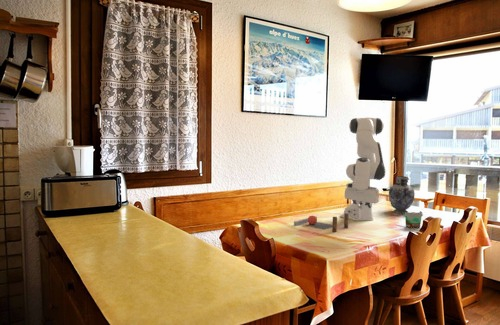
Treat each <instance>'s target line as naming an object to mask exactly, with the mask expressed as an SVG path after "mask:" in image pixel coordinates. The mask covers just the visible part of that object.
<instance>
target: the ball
mask: <svg viewBox="0 0 500 325" xmlns="http://www.w3.org/2000/svg"><path fill="white" fill-rule="evenodd" d="M316 217H317V216H316ZM316 217H315V215H309V216H308V217H307V218H308V223H307V224H311V225H314V224H316V222H318V217H317V218H316Z"/></svg>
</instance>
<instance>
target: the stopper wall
mask: <svg viewBox="0 0 500 325" xmlns="http://www.w3.org/2000/svg"><path fill="white" fill-rule="evenodd" d="M314 216H315V215H314ZM315 217H316V218H317V219H318V217H317V216H315ZM304 224H305V225H306V224H309V223H308V217H306V218H302V219H298V220H294V222H293V226H295V227H298V226H300V225H301V226H302V225H304Z"/></svg>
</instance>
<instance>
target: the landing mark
mask: <svg viewBox="0 0 500 325" xmlns="http://www.w3.org/2000/svg"><path fill="white" fill-rule="evenodd" d="M305 226H306V227H311V228H315V229H319V230H327V229H332V224H329V223H323V222H321V221H317V222H316V224H314V225H311V224H309V223H307V224H305Z"/></svg>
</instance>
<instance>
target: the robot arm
mask: <svg viewBox="0 0 500 325" xmlns="http://www.w3.org/2000/svg"><path fill="white" fill-rule="evenodd" d="M384 124H385V123H384V122H383V120H382V118H379V117H360V118H359V117H355V118H352V119H350V122H349V126H348V128H349V131H350V132H351V133H352V134H354V135H355V134H356V136H355V139H356V143H357V147H356V148H357V149H356V154H357V156H358V157H359V158H357V159H356V162H355V163H350V164H349V165H347V167H346V168H345V171H346V176H347V177H348V178H349V180H351V181H352V182H350V183H349V182H348V183H346V185H345V187H346V188H345V190H344V199H346V200H351V202H352V203H351V204H349V205H348V206H346V207H345V208H344V210H343V213H341V214H340V217H341V218H344V213H348V214H349V219H348V220H354V221H373V220H374V217H373V212H372V208H373V205H375V204H378V203H379V200H380V199H379V194H380V191H379V188H377V187H375V186H374V187H373V186H371V185H370V184H371V180H377V181H380V180H383V178H385V176H386V167H385V164H384V160H383V159H384V158H383V153H382V148H381V147H382V146H381V144H380V142H379V141H378V140H377V139H376V138H375V136H377V135H379V134H381V133H382V131H383V130H384Z"/></svg>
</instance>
